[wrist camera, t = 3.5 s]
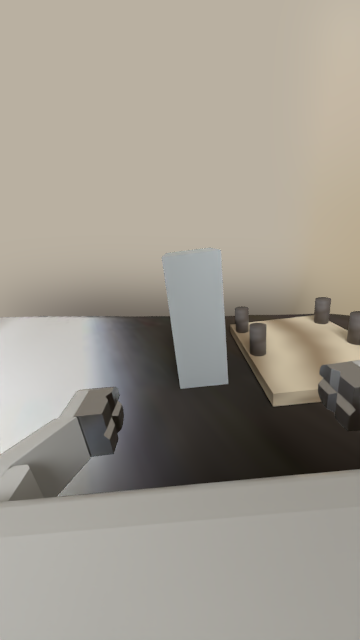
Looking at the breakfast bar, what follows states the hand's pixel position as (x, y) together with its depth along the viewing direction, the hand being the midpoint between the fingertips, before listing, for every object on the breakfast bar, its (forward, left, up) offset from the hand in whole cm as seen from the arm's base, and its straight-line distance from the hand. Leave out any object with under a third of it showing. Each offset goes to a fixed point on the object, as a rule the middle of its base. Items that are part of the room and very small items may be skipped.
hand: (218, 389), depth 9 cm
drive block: (0, +13, -7) cm, 15 cm away
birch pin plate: (+11, +14, -7) cm, 19 cm away
